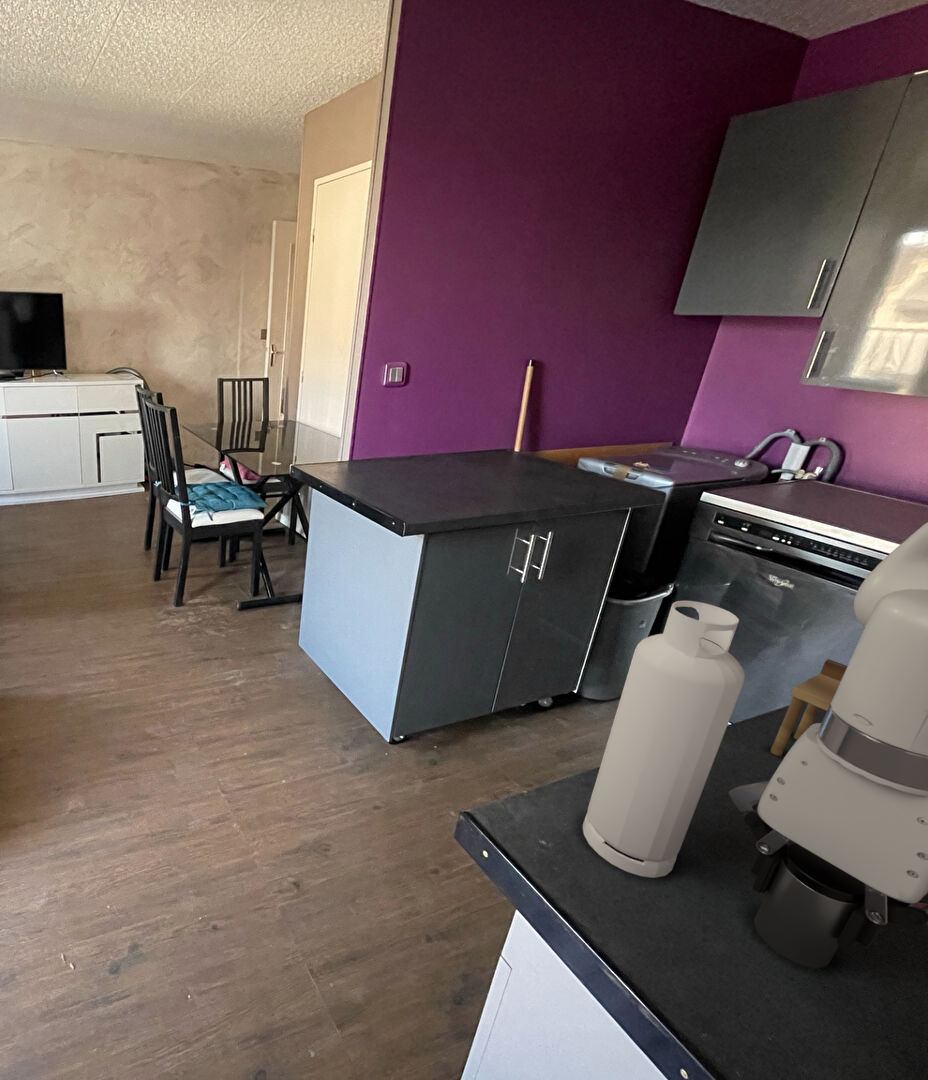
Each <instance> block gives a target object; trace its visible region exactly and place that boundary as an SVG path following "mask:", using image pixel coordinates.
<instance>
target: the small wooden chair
mask: <svg viewBox="0 0 928 1080" xmlns="http://www.w3.org/2000/svg"><path fill="white" fill-rule="evenodd" d="M847 666H848V665H845V664H844V663H841V662H837V661H835V660H832V659H829V658H828V659H825V661H824V663H823V666H822V668H821V670H820V673H818V674H816V675H814V676H813V677H811V678H809V679H807V680H805V681H802V682H801V683H799V684H798V685H796V686H794V687H793V688H792V691H791V693H790V696H791V697H792V699H791V701H790V703H789V706H788V708H787V711H786V712H785V715H784V717H783V720H782V722H781V725H780V727H779V729H778V732H777V734H776V737H775V739H774V741H773V744H772V745H771V749H770V753H771V754H773V755H775V756H778V757H782V756H783V754H784V752H785V749H786V746H787V744H788V742H789V740H790V738H791V736H792V733H793V731H794V728H795V726H796V724H797V722H798V720H799V717H800V714H801V712H802V710H803V707H804V706H805V703H807V705H806V708H805V710H804V712H803V715H802V717H801V719H800V722H799V724H798V726H797V728H796V731H795V733H794V735H793V739H795V740H796V741H797V740H798V739H799V738H800V736H801V735H802V734H803V733H804V732H805V731H806V730H807V729H808V728H809V727H810V726H811V725H813V724H814V722H815V720H816V718H817V715H818V713H819V711H820V709H821V710H824V711H826V712H827V710H828V707H829V705H830V703H831V702H832V699H833V697H834V695H835V693H836V691H837V688H838V686H839V684H840V682H841V680H842V677H843V675H844V673H845V671H846V669H847Z"/></svg>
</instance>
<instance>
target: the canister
mask: <svg viewBox="0 0 928 1080" xmlns="http://www.w3.org/2000/svg"><path fill="white" fill-rule="evenodd" d="M864 901H865V884H864V883H863V882H862V881H860V880H858V879H857V878H855V877H853V876H852V875H850V874H848V873H846V872H845V871H843V870H841V869H840V868H838V867H836V866H834V865H833V864H831V863H829V862H828V861H826V860H824V859H823V858H821V857H819V856H817V855H816V854H814V853H812V852H811V851H809V850H807V849H806V848H804V847H802V846H801V845H799V844H797V843H795V842H794V843H792V844H789V845H788V847H787V849H786V851H785V853H784V855H783V859H782V862H781V864H780V866H779V868H778V870H777V872H776V874H775V876H774V878H773V881H772V883H771V885H770V887H769V889H768V890H767V891H766V892H765V895H764V897H763V900H762V902H761V904H760V905H759V908H758V910H757V913H756V915H755V917H754V918H753V924H754V928H755V930H756V932H757V933H758V935H759V936H760V938H761V939H762V940H763V941H764V942H765V943H766V944H767V945H768V946H769V947H771V948H772V949H773V950H774V951H776V952H777V953H778V954H780V956H783V957H785V958H786V959H789V961H792V962H794V963H796V964H799V965H801V966H804V967H808V968H813V969H823V968H825V967H827V966H829V964H830V963H831V960H832V958H833V957H834V956H835V953H836V952H837V950H838V948H839V944H837V943H836V942H837V940H838V938H839V936H840V934H841V932H842V931H843V929H844V927H845V925H846V923H847V922H848V920H849V918H850V916H851V914H852V913H853V912H854V911H855V910H856V909H857V908H858V907H859V906H860V905H862V903H863V902H864Z"/></svg>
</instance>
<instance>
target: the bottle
mask: <svg viewBox="0 0 928 1080" xmlns="http://www.w3.org/2000/svg"><path fill="white" fill-rule="evenodd" d="M682 607H684V608H685V607H687V608H692V609H695V610H696V612H697V613H698V619H696V618H693V617H689V616H687V615H685V614H683V613H681V612H680V611H678V610H677V609H676V608H682ZM739 623H740V619H739V618H738V616H737V615H736V614H734V613H733V612H731V611H729V610H727V609H724V608H722V607H719V606H716V605H714V604H710V603H706V602H702V601H701V602H700V601H694V600H677V601H675V602H672V604H671V607H670V609H669V613H668V617H667V619H666V623H665V626H664V629H663V632H662V633H657V634H653V635H649V636H648V637H647V636H646V637H645V638H643V639H642V640H641V641H640V642H638V644H637V645H636V647H635V649H634V651H633V655H632V658H631V662H630V665H629V669H628V673H627V675H626V679H625V682H624V686H623V689H622V691H621V694H620V695H621V696H620V699H619V701H618V705H617V709H616V712H615V716H614V719H613V722H612V726H611V729H610V733H609V735H608V739H607V743H606V746H605V749H604V752H603V757H602V759H601V763H600V766H599V770H598V773H597V776H596V780H595V783H594V787H593V789H592V793H591V796H590V800H589V803H588V807H587V812H586V814H585V817H584V820H583V824H582V832H583V836H584V838H585V839H586V841H587V843H588V845H589V846H590V847H591V848H592V849H593V850H594V852H596V853H597V854H598V855H599V856H600V857H601V858H603V859H604V860H605V861H607V862H608V863H610V864H611V865H613V866H614V867H617V868H618V869H621V870H622V871H625V872H627V873H629V874H632V875H636V876H640V877H645V878H660V877H665V876H667V875H669V874H670V873H671V872H672V871H673V868H674V867H675V863H676V860H677V858H678V854H679V853H680V850H681V847H682V845H683V842H684V840H685V837H686V835H687V832H688V830H689V827H690V825H691V822H692V819H693V816H694V814H695V811H696V809H697V806H698V804H699V800H700V798H701V795H702V794H703V791H704V787H705V785H706V783H707V780H708V777H709V775H710V772H711V769H712V767H713V764H714V762H715V760H716V759H715V758H716V756H717V754H718V752H719V749H720V746H721V743H722V741H723V739H724V736H725V733H726V730H727V727H728V725H729V723H730V719H731V717H732V715H733V712H734V710H735V707H736V704H737V701H738V699H739V697H740V694H741V691H742V689H743V686H744V683H745V679H746V678H745V676H746V675H745V672H744V668H743V666H742V665H741V663H740V662H739V661H738V659H736V658H735V656H733V654H731V653H730V652H729V650H730V647H731V645H732V641H733V638H734V635H735V633H736V630H737V628H738V625H739ZM606 843H607V844H606ZM612 847H613V848H612ZM620 852H621V853H620ZM624 854H625V855H624ZM626 855H627V856H626ZM628 856H629V857H628ZM630 857H631V858H630ZM633 858H635V859H633ZM637 859H638V860H637ZM640 860H641V861H640Z"/></svg>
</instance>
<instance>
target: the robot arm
mask: <svg viewBox="0 0 928 1080" xmlns="http://www.w3.org/2000/svg"><path fill="white" fill-rule="evenodd" d="M853 611H854V616H855V618H856V619H857V621H858V622H859V624H860V625H861V626H862V627H863V631H862V632H861V635H860V637H859V638H858V639H859V640H858V642H857V644H856V646H855V648H854V651H853V653H852V656H851V658H850V660H849V661H848V664H847V665H846V666H847V669H846V671H845V673H844V675H843V677H842V680H841V682H840V684H839V686H838V688H837V691H836V693H835V695H834V697H833V699H832V702H831V703H830V705H829V707H828V710H827V711H826V713H825V714H824V716H823V718H822V721H821V722H816V723H813V724H812V725H811V726H810V727H809V728H808V729H807V730H806V731H805V732H804V733H803V734H802V735H801V736H800V738H799V739H798V740H796V741H795V742H794V744H792V746H791V747H790V749H789V750H788V751H787V752H786V754H785V755H784V757H783V759H782V761H781V762H780V763H779V765H778V767H777V768H776V770H775V772H774V773H773V775H772V776H771V778H770V779H769V780H765V781H760V782H759V781H758V782H754V783H747V784H743V785H737V786H734V788H732V789H730V790H729V791H728V797H729V798H730V800H731V801H732V802H733V804H734V805H735V807H736V808H737V810H738V811H739V812H740V813H741V814H742V815H743V816H744V817H743V819H744V821H745V823H746V825H747V826H748V828H749V830H750V832H751V833H752V835H753V837H754V839H755V840H756V842H755V848H756V850H758V851H759V852H758V854H757V856H756V859H755V861H754V863H753V864H752V868H751V870H750V872H751V873H752V874H754V875H755V876H756V878H755V881H754V883H753V885H752V889H753V890H754V891H755V892H757V893H759V894H760V893H761V894H764V893H765V894H766V893H767V891H768V889H769V887H770V885H771V883H772V881H773V878H774V876H775V874H776V872H777V870H778V868H779V866H780V864H781V862H782V859H783V855H784V853H785V851H786V849H787V847H788V846H789V845H788V844H789V843H790V842H794V843H797V844H799V845H801V846H802V847H804V848H806V849H807V850H809V851H811V852H812V853H814V854H816V855H817V856H819V857H821V858H823V859H824V860H826V861H828V862H829V863H831V864H833V865H834V866H836V867H838V868H840V869H841V870H843V871H845V872H846V873H848V874H850V875H852V876H853V877H855V878H857V879H858V880H860V881H862V882H863V883H864V884H865V901H864V902H863V903H862V905H860V906H859V907H858V908H857V909H856V910H855V911H854V912H853V913H852V914H851V916H850V918H849V920H848V922H847V923H846V925H845V927H844V929H843V931H842V932H841V934H840V936H839V938H838V940H837V942H836V943H837V944H839V946H838V948H840V949H842V950H843V951H845V952H846V953H847V952H849V950H850V949H851V948H852V947H853V946H854V945H856V944H857V943H859V944H860V945H862V946H864V947H865V948H866V949H867V948H869V947H870V946H871V945H872V944H873V942H874V941H875V940H876V938H877V937H878V935H879V933H880V932H881V930H882V929H883V926H885V925H887V924H896V925H897V924H898V925H908V926H918V927H924V926H926V925H927V926H928V903H927V902H925V901H922V899H923V898H924V897H925V896H926V895H927V894H928V521H927V522H926V523H924V524H923V525H922V526H921V527H919V528H918V529H916V531H914V532H913V533H912V534H911V535H910V536H908V537H907V538H906V539H905V540H904V541H903V542H902V543H900V544H899V545H898V546H896V548H895V549H893V550H892V551H891V552H890V553H889V554H888V555H887V556H886V557H885V558H883V559H882V560H881V561H880V562H879V563H878V564H877V565H876V567H874V568H873V570H872V571H870V573H868V575H867V576H866V577H865V579H864V580H863V581H862V582H861V584H860V586H859V587H858V589H857V592H856V594H855V597H854V600H853Z"/></svg>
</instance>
